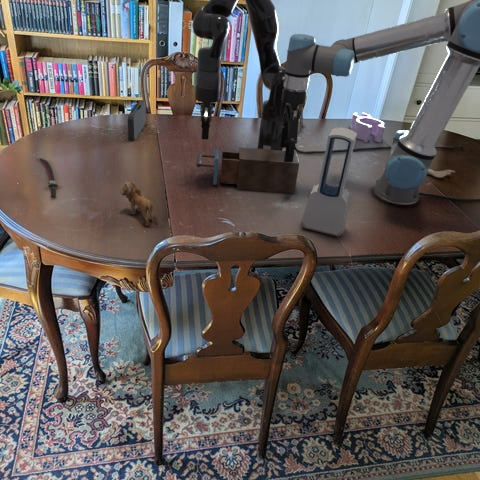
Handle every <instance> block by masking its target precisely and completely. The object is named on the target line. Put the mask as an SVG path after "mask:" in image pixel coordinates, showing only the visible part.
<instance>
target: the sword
mask: <svg viewBox="0 0 480 480" xmlns="http://www.w3.org/2000/svg"><path fill="white" fill-rule="evenodd" d="M40 161H41V162H42V163H43V165H44V166H45V169H46V173H47V176H48V185H47V188H50V198H56V197H57V189H56V188H57V187H59V185H58V184H57V183H56V180H55V176H54V172H53V169H52V167H51V164H50V163H49V161H48V160H46V159H43V158H40Z"/></svg>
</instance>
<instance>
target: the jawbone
mask: <svg viewBox="0 0 480 480" xmlns="http://www.w3.org/2000/svg"><path fill="white" fill-rule="evenodd" d="M452 173H454V174H455V173H456V171H455V170H453V169H444V170H440V171H438V170H433V169H431V168H430V167H429V168H428V170H427V175H429V176H432V177H434V178H435V179H442V178H444V177H446V176H447V177H448V178H450V177H451V176H452Z"/></svg>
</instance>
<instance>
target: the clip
mask: <svg viewBox="0 0 480 480" xmlns="http://www.w3.org/2000/svg"><path fill="white" fill-rule="evenodd" d="M358 114H359V113H358V112H353V114H352V118H351V122H350V126H349V129H350V130H353V131H354V132H356V133H357V135H356V139H358V140H361V141H363V142H364V143H368V142H369V140H370V135H372V136H374V139H373V140H374V142H376V143H382V140H383V137H384V132H385V129H386V127H385V122H384V121H383V120H380V119H377V118H374V117H372V115H371V114H369V113H366V112H361V115H358Z"/></svg>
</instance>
